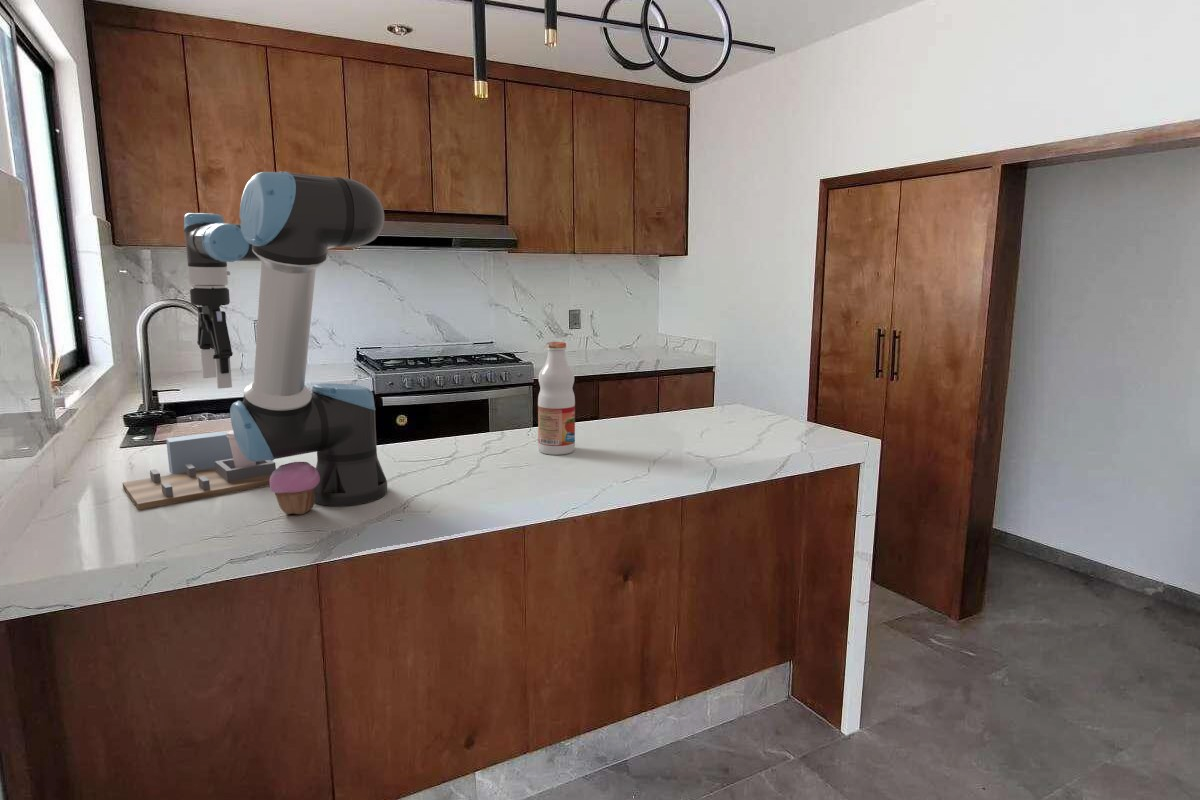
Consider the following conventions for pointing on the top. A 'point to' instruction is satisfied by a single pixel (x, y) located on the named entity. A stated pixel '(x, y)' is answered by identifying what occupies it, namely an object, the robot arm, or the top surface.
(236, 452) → the smoothie
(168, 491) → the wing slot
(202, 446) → the light blue rectangular block
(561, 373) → the fruit juice
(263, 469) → the frame
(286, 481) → the cupcake
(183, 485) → the jig board
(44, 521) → the top surface
